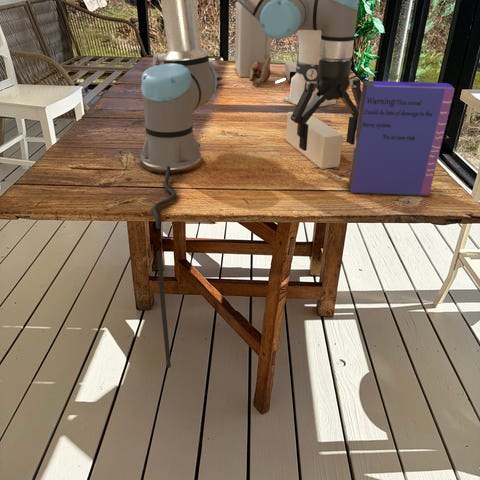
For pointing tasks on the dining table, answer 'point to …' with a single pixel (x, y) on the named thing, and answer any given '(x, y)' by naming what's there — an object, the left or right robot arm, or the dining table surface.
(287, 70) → the disc drive
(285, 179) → the dining table surface
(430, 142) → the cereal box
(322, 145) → the bar
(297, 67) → the right robot arm
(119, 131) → the dining table surface
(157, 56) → the toy
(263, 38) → the white upright box
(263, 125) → the dining table surface
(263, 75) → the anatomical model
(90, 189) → the dining table surface
